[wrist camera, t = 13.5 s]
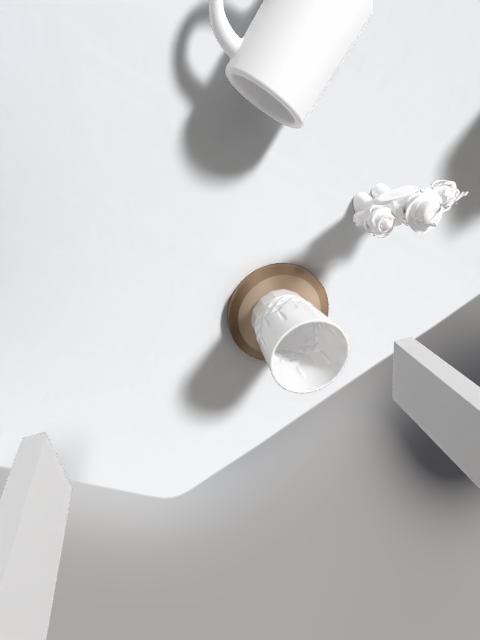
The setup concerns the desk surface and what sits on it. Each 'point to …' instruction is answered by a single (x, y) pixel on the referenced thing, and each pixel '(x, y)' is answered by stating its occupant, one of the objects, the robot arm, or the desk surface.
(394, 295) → the desk surface
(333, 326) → the white cup
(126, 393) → the desk surface
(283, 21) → the mug
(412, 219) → the flower shoulder figurine
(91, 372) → the desk surface
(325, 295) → the coaster
